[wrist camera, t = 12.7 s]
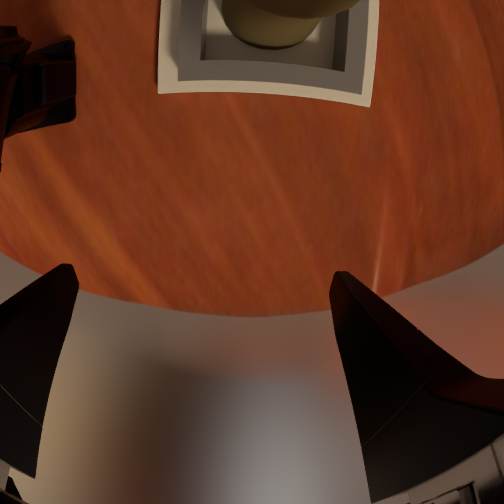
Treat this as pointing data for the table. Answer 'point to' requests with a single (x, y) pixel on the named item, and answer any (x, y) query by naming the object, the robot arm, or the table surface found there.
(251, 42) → the cork
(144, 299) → the table surface
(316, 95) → the socket
